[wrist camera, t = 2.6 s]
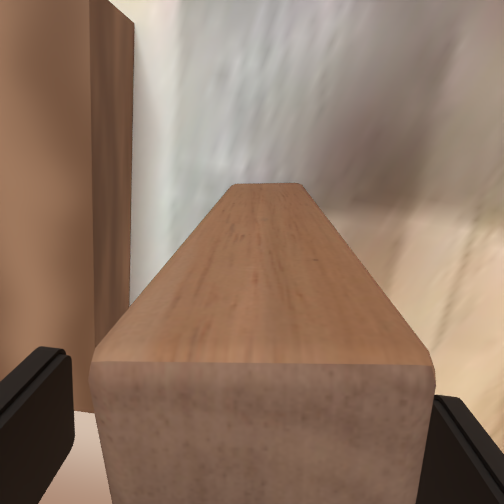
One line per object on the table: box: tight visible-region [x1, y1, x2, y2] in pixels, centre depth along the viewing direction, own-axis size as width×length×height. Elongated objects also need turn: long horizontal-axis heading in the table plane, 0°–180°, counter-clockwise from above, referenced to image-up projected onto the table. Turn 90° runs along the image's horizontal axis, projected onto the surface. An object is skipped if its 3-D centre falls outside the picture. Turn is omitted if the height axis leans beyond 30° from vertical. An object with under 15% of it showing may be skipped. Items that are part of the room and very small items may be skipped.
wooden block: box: [88, 183, 436, 504], centre depth 14 cm, size 9×4×18 cm, turn 1°
